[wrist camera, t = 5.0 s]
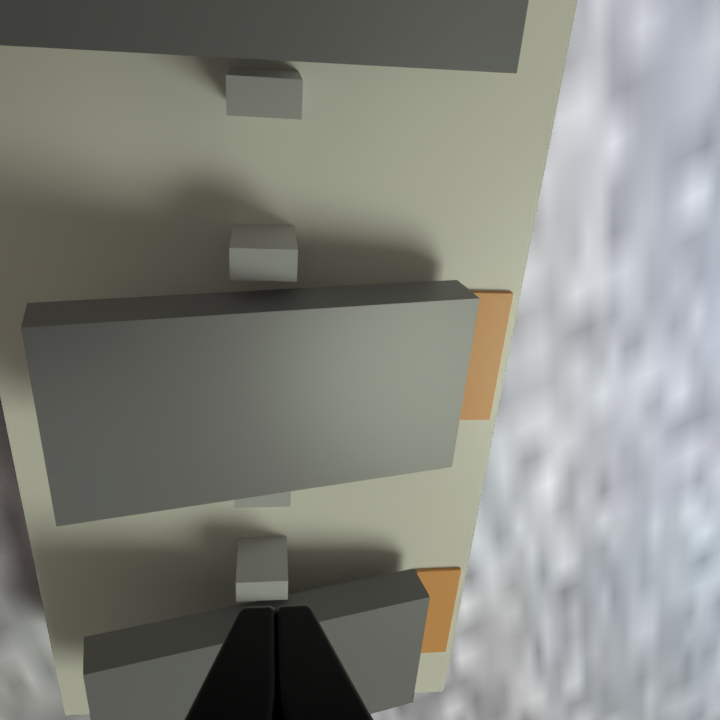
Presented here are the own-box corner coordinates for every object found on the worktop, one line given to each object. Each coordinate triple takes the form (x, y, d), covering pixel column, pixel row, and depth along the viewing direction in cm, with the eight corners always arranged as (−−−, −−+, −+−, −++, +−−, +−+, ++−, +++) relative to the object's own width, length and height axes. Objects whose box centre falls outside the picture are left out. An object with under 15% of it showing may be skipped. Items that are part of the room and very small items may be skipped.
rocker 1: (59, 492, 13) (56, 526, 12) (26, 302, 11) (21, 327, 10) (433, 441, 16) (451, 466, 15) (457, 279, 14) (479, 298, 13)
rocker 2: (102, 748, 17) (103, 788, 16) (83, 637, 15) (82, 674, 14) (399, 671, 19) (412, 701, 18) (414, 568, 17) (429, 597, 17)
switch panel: (89, 629, 22) (50, 768, 18) (-69, -350, 11) (-258, -550, 7) (423, 613, 23) (455, 738, 19) (562, -260, 13) (698, -381, 9)
